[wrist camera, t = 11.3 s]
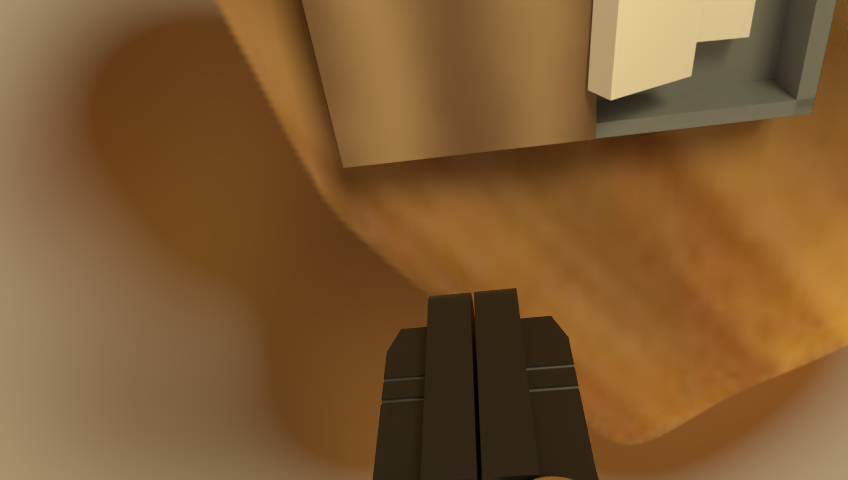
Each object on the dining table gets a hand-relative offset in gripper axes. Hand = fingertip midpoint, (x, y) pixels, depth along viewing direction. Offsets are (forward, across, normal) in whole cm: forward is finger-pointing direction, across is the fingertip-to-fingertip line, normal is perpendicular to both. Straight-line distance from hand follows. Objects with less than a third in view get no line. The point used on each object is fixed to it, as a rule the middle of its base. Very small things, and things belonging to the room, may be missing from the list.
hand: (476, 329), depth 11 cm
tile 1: (+20, -7, +2) cm, 21 cm away
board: (+23, 0, +1) cm, 23 cm away
